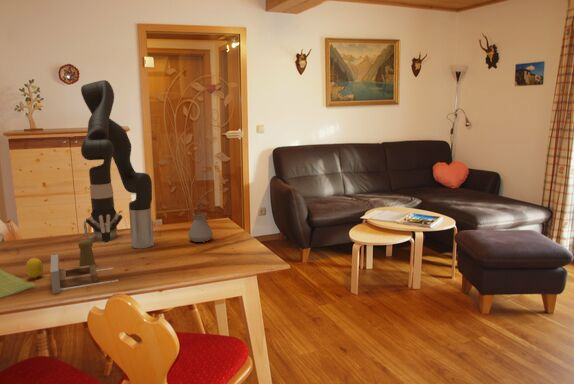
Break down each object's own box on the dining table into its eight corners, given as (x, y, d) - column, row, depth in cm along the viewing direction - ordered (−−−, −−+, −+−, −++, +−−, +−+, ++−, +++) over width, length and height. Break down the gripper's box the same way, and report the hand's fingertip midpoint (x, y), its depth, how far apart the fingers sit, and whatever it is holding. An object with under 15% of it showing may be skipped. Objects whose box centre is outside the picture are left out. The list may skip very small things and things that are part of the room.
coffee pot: (213, 243, 216) (212, 211, 214) (188, 244, 214) (186, 212, 211) (211, 231, 237) (210, 201, 234) (188, 232, 235) (186, 203, 232)
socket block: (95, 272, 179) (94, 264, 178) (97, 282, 168) (97, 274, 168) (60, 277, 174) (59, 269, 173) (60, 288, 163) (59, 280, 163)
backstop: (113, 267, 185) (111, 247, 184) (119, 284, 168) (117, 262, 166) (53, 275, 176) (50, 255, 175) (52, 294, 159) (50, 272, 157)
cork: (89, 269, 183) (87, 242, 180) (75, 268, 184) (73, 241, 182) (98, 264, 188) (96, 238, 186) (85, 263, 190) (83, 237, 188)
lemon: (31, 275, 176) (28, 255, 175) (46, 275, 177) (44, 254, 175) (24, 281, 171) (21, 260, 170) (40, 280, 171) (37, 259, 170)
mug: (108, 234, 232) (107, 210, 230) (122, 237, 226) (120, 213, 224) (79, 241, 220) (76, 216, 218) (92, 245, 214) (90, 220, 212)
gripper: (119, 191, 176) (123, 236, 179) (81, 195, 170) (86, 241, 173) (122, 195, 169) (126, 241, 173) (82, 199, 163) (87, 247, 167)
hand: (106, 241), depth 173 cm, fingers closed
